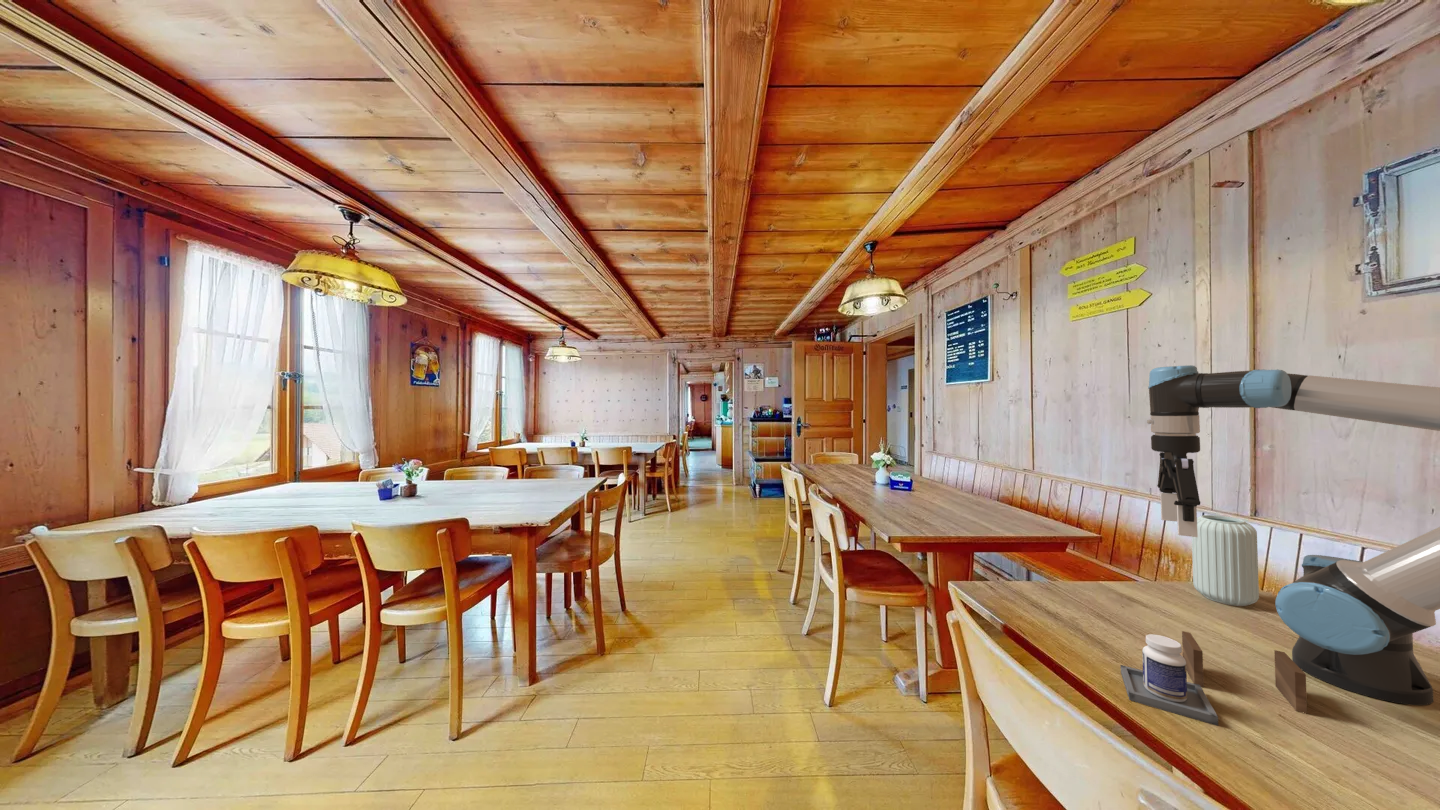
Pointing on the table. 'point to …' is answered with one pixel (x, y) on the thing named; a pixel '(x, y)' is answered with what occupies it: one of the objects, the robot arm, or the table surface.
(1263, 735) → the table surface
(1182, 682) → the pill bottle
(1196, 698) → the tray
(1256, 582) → the vase
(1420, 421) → the robot arm
